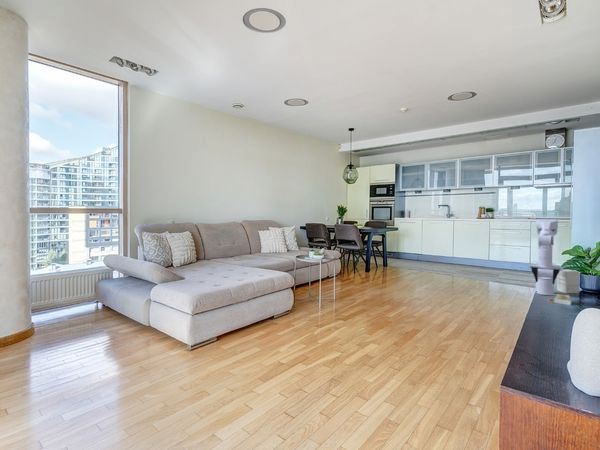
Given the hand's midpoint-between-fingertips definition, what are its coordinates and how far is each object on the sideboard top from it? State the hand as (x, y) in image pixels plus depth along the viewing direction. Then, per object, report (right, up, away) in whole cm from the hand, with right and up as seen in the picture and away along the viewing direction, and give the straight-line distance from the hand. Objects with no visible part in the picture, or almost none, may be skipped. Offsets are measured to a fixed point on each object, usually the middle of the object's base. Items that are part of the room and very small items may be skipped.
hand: (544, 282), depth 166 cm
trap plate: (+2, -9, -1) cm, 10 cm away
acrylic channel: (+6, -10, -5) cm, 12 cm away
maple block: (+6, -10, -5) cm, 12 cm away
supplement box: (+26, -9, +16) cm, 31 cm away
